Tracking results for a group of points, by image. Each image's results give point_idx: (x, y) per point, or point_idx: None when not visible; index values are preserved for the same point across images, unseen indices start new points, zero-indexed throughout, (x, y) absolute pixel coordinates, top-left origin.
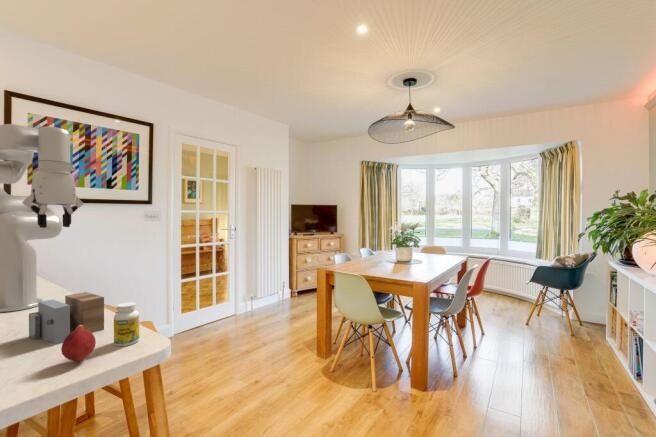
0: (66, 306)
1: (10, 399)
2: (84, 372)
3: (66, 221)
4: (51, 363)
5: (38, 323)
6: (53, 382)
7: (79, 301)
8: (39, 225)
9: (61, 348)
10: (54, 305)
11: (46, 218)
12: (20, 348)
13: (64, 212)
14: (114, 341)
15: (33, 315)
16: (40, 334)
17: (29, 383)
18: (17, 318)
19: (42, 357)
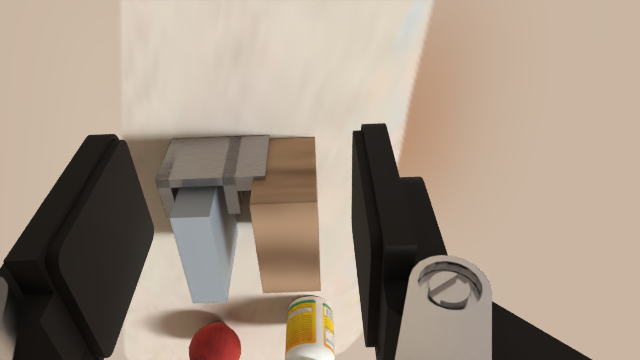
0: (219, 301)
1: (129, 354)
2: None
3: (356, 266)
4: (185, 301)
5: None
6: (176, 350)
7: (260, 275)
8: (84, 147)
9: (189, 348)
10: (197, 280)
11: (123, 317)
12: (149, 201)
13: (391, 308)
14: (287, 314)
15: (163, 206)
16: None
17: (150, 335)
18: None
19: (178, 271)
